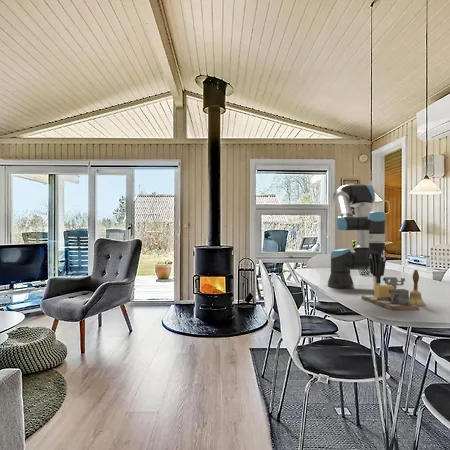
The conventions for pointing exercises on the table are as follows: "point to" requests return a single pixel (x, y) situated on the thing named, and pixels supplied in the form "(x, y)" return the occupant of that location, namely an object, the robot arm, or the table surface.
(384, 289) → the block
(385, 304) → the board
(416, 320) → the table surface
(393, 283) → the mechanical component
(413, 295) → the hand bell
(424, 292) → the table surface
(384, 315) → the table surface
